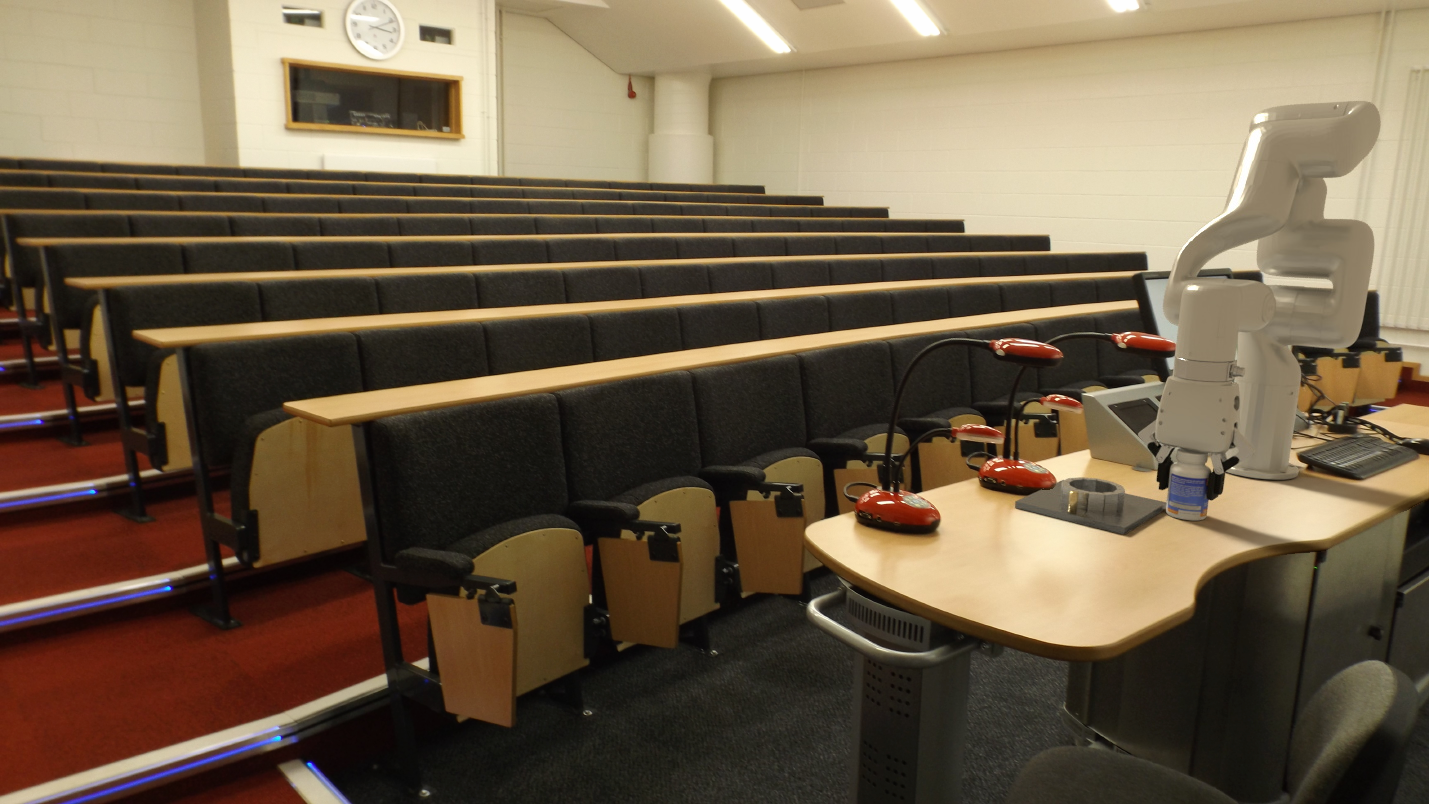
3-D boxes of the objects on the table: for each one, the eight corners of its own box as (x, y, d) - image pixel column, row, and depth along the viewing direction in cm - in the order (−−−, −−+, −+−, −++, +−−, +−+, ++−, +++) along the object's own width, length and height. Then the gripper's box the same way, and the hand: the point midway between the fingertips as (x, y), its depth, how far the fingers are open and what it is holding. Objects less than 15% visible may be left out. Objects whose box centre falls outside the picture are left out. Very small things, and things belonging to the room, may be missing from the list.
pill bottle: (1211, 522, 130) (1219, 457, 128) (1170, 520, 132) (1178, 454, 130) (1199, 510, 136) (1207, 447, 134) (1160, 508, 137) (1167, 445, 135)
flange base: (1062, 485, 147) (1064, 461, 147) (1166, 508, 136) (1169, 483, 136) (1014, 507, 136) (1017, 482, 136) (1123, 534, 125) (1126, 507, 124)
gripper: (1279, 375, 126) (1262, 501, 130) (1149, 360, 138) (1137, 475, 141) (1263, 382, 121) (1246, 513, 124) (1130, 366, 133) (1117, 485, 136)
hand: (1188, 491), depth 133 cm, fingers open, 5 cm apart
